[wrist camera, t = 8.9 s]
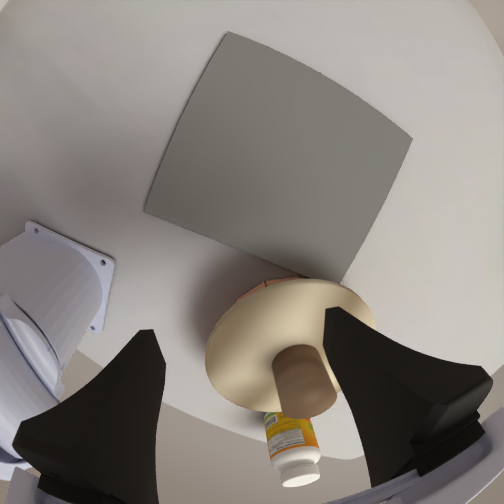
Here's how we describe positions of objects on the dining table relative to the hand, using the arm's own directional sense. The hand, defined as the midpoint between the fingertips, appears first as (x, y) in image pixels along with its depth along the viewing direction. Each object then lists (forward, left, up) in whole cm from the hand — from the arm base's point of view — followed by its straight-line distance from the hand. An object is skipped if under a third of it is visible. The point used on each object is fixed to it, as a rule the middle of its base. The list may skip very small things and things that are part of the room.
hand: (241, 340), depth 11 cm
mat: (+1, +8, -10) cm, 12 cm away
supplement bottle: (+14, -17, -10) cm, 24 cm away
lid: (+7, -4, -6) cm, 10 cm away
